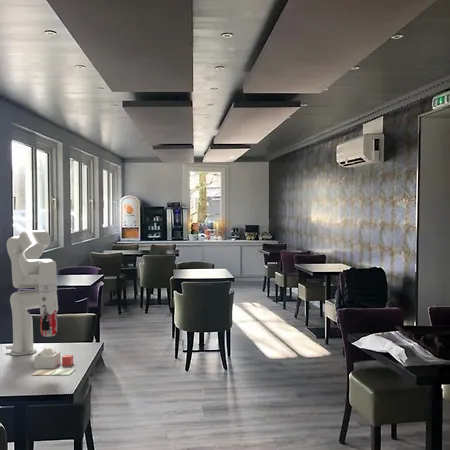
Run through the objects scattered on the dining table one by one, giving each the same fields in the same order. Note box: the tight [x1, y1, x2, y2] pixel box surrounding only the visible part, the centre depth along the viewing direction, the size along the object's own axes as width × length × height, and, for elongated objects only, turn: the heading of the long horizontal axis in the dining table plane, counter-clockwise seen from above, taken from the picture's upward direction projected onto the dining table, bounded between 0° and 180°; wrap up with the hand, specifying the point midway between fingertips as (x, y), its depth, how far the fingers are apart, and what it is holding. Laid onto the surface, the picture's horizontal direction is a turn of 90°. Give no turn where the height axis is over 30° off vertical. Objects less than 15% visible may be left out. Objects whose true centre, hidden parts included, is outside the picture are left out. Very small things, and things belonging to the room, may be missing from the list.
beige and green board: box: [31, 368, 76, 377], centre depth 238 cm, size 16×8×1 cm, turn 89°
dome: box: [39, 346, 56, 356], centre depth 250 cm, size 6×6×5 cm
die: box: [61, 354, 74, 367], centre depth 251 cm, size 4×4×4 cm
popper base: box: [34, 350, 62, 369], centre depth 250 cm, size 9×9×6 cm
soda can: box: [39, 308, 58, 338], centre depth 237 cm, size 7×7×12 cm
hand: (49, 328), depth 237 cm, fingers closed on soda can, 7 cm apart
